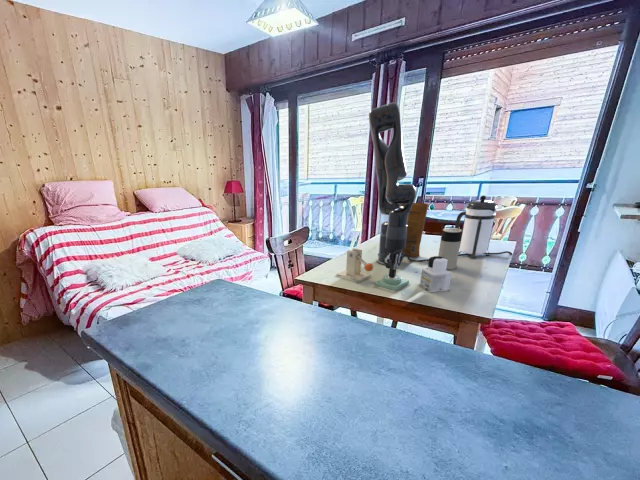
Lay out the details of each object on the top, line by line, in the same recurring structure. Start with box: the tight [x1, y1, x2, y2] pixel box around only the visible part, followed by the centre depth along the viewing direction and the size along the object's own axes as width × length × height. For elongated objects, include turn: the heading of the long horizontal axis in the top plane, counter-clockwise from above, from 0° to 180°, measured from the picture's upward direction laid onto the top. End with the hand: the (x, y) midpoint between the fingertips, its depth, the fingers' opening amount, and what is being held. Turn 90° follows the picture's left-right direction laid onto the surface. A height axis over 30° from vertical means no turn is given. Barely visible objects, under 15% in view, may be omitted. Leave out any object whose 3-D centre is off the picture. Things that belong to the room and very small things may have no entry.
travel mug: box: [437, 227, 462, 270], centre depth 152 cm, size 8×8×18 cm
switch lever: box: [352, 249, 374, 272], centre depth 144 cm, size 12×4×4 cm
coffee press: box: [454, 194, 498, 259], centre depth 165 cm, size 17×16×30 cm
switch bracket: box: [336, 248, 371, 281], centre depth 148 cm, size 12×9×13 cm
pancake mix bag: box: [402, 202, 429, 258], centre depth 171 cm, size 7×19×28 cm, turn 43°
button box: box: [374, 274, 410, 291], centre depth 137 cm, size 11×9×4 cm
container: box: [419, 255, 452, 293], centre depth 131 cm, size 8×8×13 cm
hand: (391, 277), depth 136 cm, fingers closed
